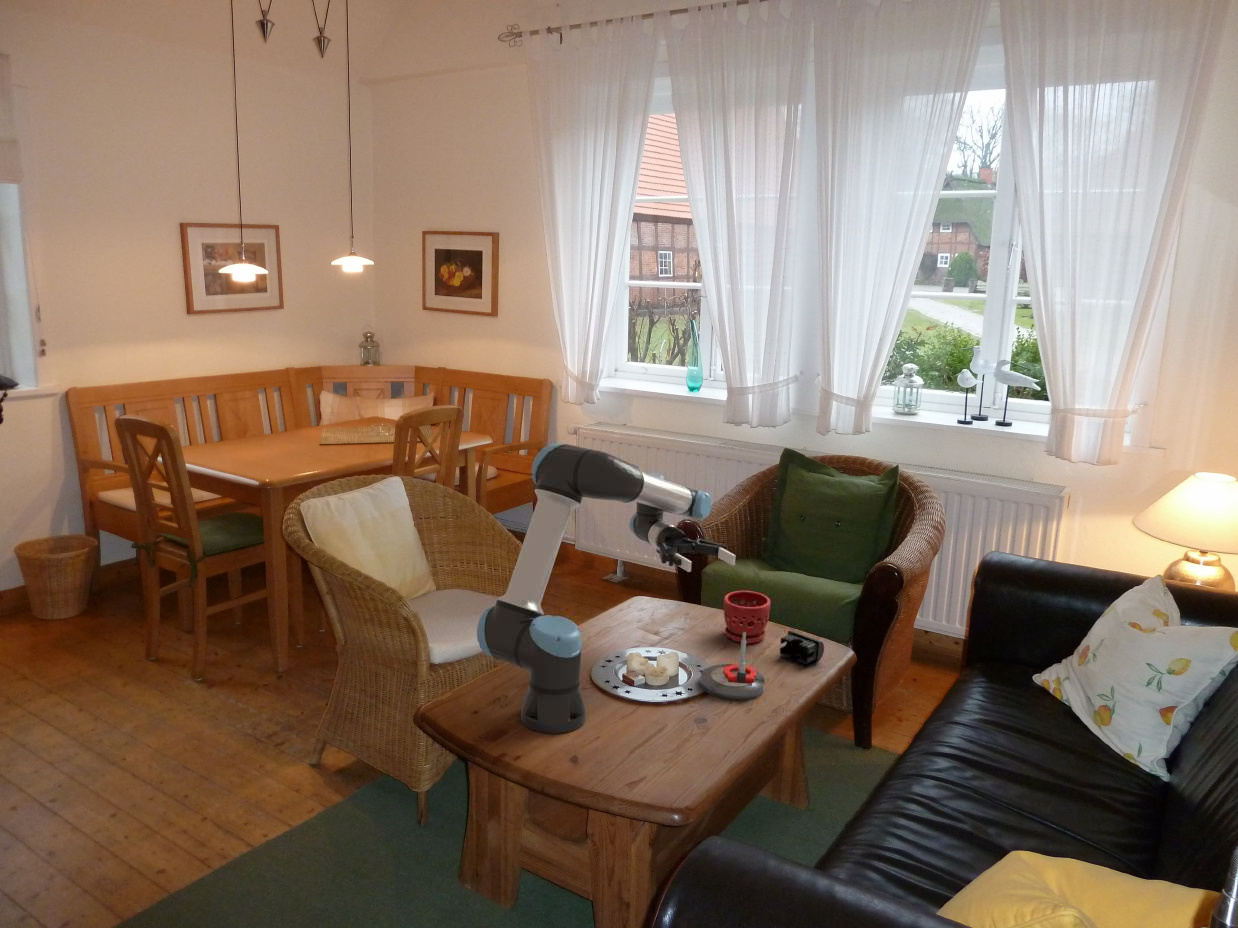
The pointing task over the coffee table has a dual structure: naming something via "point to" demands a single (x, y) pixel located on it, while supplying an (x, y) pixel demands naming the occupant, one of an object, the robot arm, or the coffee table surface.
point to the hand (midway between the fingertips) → (712, 563)
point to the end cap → (801, 649)
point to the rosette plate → (730, 684)
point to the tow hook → (741, 667)
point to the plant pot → (746, 615)
